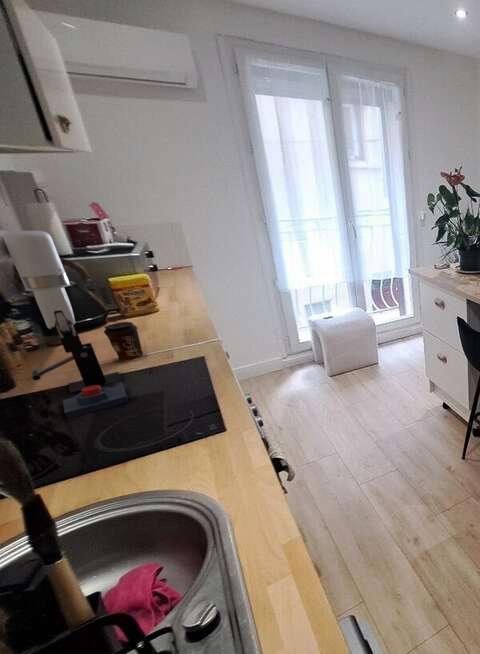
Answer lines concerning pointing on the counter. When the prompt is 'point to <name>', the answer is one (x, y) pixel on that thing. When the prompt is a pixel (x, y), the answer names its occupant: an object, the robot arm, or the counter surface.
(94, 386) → the igniter button
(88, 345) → the lever bracket
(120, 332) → the coffee cup
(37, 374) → the lever
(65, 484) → the counter surface
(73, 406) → the igniter
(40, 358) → the counter surface
